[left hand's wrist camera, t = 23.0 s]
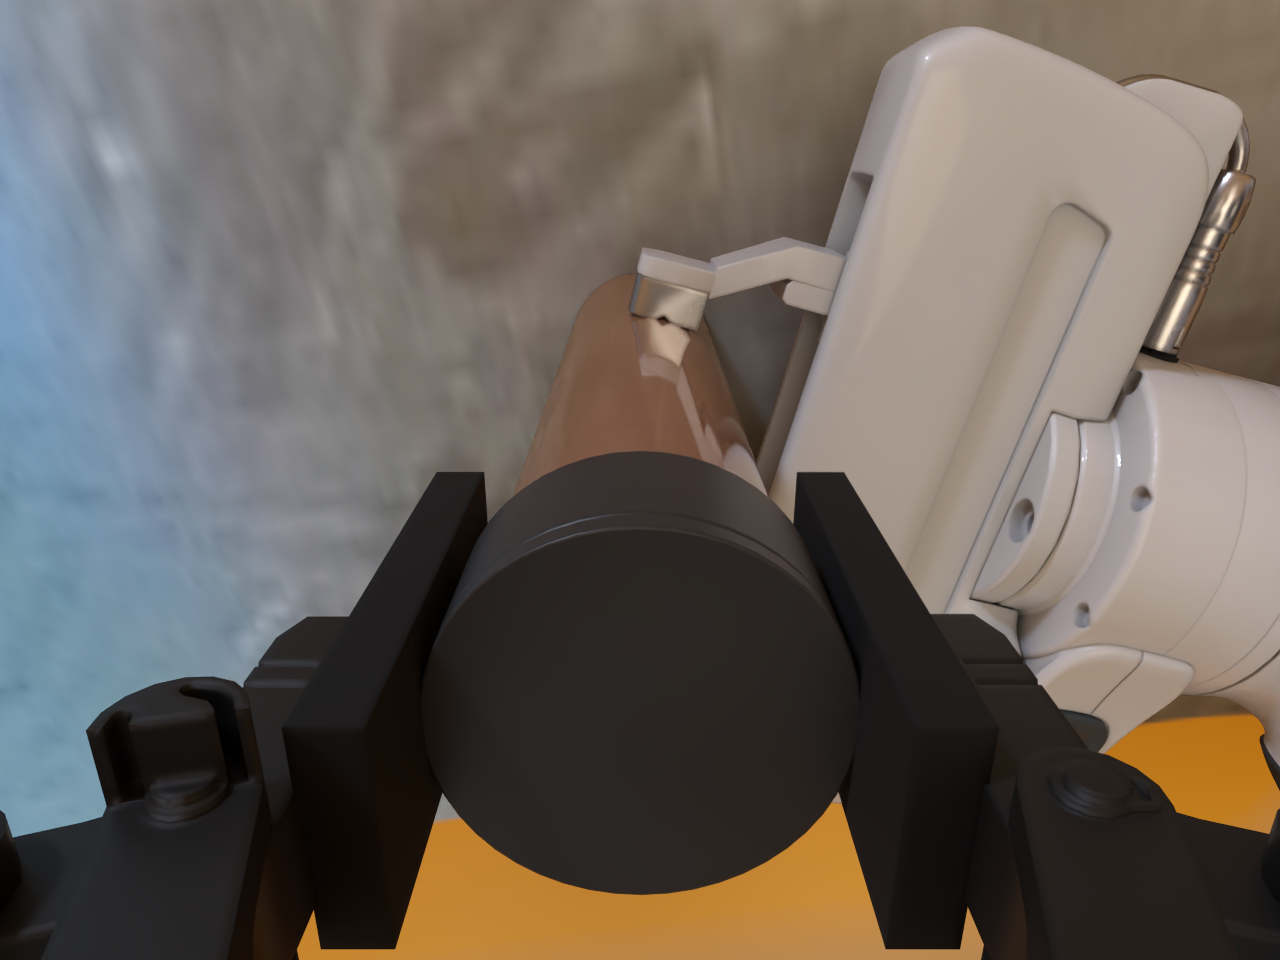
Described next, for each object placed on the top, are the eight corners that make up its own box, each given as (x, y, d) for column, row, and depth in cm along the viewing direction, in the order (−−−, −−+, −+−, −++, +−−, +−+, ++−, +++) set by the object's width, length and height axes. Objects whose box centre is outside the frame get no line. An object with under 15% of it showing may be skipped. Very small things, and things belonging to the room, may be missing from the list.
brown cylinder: (727, 377, 30) (870, 766, 11) (605, 426, 30) (551, 871, 12) (677, 250, 28) (748, 461, 10) (550, 305, 29) (391, 601, 10)
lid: (701, 814, 14) (712, 950, 11) (400, 676, 13) (347, 794, 10) (894, 558, 12) (952, 657, 10) (566, 380, 11) (546, 442, 9)
